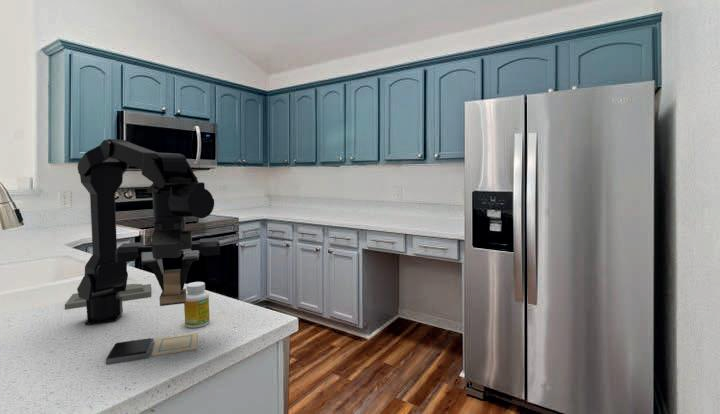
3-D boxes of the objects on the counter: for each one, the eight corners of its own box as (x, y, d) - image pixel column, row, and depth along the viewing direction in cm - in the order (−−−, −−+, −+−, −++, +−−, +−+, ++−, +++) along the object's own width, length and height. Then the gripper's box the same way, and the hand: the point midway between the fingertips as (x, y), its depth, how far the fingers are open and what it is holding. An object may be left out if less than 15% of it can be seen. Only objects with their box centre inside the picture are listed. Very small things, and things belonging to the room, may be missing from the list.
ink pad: (106, 364, 70) (105, 357, 70) (115, 348, 77) (114, 342, 77) (148, 357, 73) (147, 351, 73) (153, 342, 79) (153, 336, 79)
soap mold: (72, 300, 108) (71, 288, 108) (151, 290, 118) (151, 279, 117) (65, 311, 99) (64, 298, 99) (151, 299, 109) (150, 287, 108)
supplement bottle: (200, 329, 86) (198, 288, 85) (179, 327, 87) (178, 286, 87) (214, 320, 92) (212, 281, 91) (194, 318, 93) (192, 280, 92)
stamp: (162, 299, 79) (161, 269, 78) (186, 296, 81) (185, 267, 80) (159, 306, 75) (158, 275, 74) (184, 303, 76) (183, 273, 76)
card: (151, 356, 74) (151, 354, 74) (157, 339, 81) (157, 337, 81) (196, 349, 76) (195, 347, 76) (197, 333, 84) (197, 332, 84)
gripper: (104, 222, 65) (109, 309, 67) (218, 217, 72) (221, 297, 73) (119, 215, 76) (124, 291, 77) (218, 212, 82) (221, 281, 84)
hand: (173, 290), depth 78 cm, fingers closed on stamp, 3 cm apart
